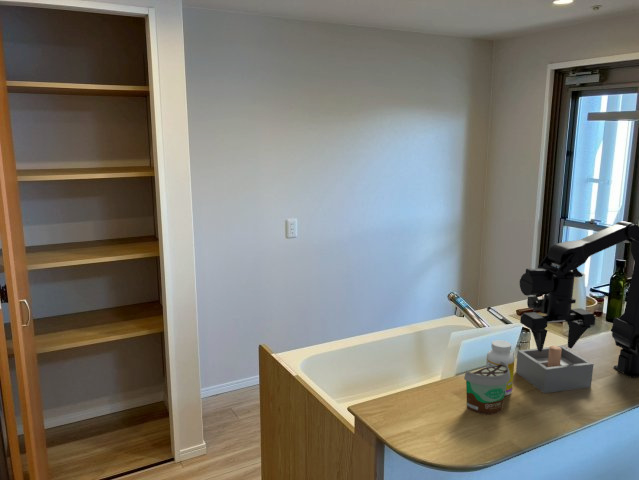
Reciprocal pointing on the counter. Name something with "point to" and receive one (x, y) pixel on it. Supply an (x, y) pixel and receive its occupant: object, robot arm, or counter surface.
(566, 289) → the robot arm
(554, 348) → the peg
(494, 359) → the supplement bottle
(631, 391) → the counter surface
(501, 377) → the food container
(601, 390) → the counter surface
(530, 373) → the bore box
